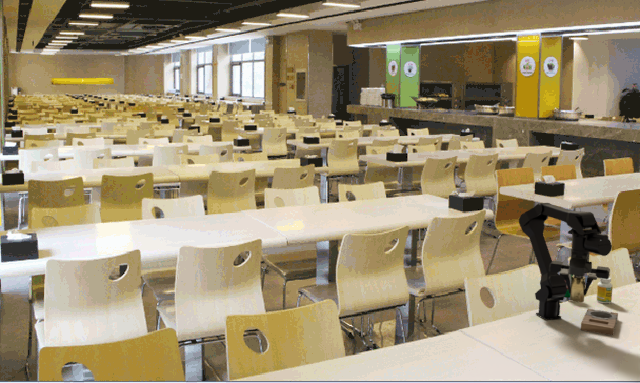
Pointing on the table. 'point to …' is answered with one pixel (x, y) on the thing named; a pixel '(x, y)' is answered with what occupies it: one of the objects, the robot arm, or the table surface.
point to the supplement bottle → (604, 291)
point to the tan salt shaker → (577, 288)
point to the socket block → (599, 321)
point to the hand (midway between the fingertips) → (577, 294)
